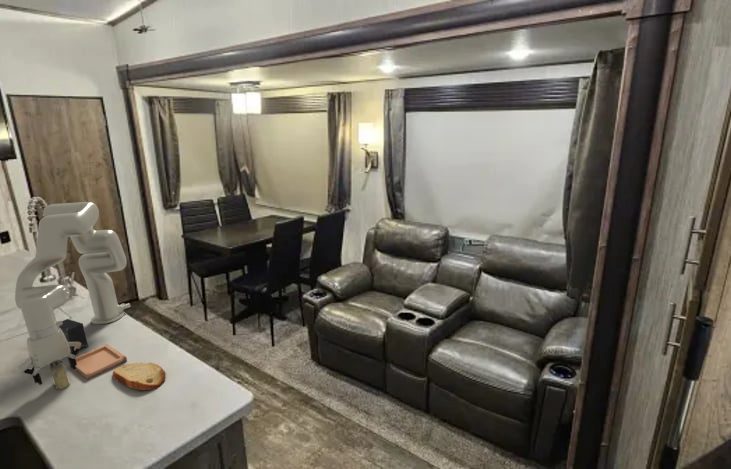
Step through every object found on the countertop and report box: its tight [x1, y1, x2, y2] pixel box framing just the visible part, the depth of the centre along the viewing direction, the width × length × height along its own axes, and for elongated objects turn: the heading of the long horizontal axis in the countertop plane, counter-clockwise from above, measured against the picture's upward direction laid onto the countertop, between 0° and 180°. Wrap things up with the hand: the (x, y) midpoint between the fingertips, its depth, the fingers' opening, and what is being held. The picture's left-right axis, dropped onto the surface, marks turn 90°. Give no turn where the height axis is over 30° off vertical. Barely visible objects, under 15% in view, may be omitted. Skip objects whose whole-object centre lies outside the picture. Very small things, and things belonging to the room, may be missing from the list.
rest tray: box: [75, 343, 128, 380], centre depth 146 cm, size 13×16×2 cm
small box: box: [59, 318, 89, 353], centre depth 155 cm, size 11×6×10 cm, turn 65°
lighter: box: [49, 359, 70, 390], centre depth 133 cm, size 7×4×10 cm, turn 45°
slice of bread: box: [112, 362, 167, 391], centre depth 136 cm, size 18×18×4 cm
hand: (57, 375), depth 134 cm, fingers open, 9 cm apart
